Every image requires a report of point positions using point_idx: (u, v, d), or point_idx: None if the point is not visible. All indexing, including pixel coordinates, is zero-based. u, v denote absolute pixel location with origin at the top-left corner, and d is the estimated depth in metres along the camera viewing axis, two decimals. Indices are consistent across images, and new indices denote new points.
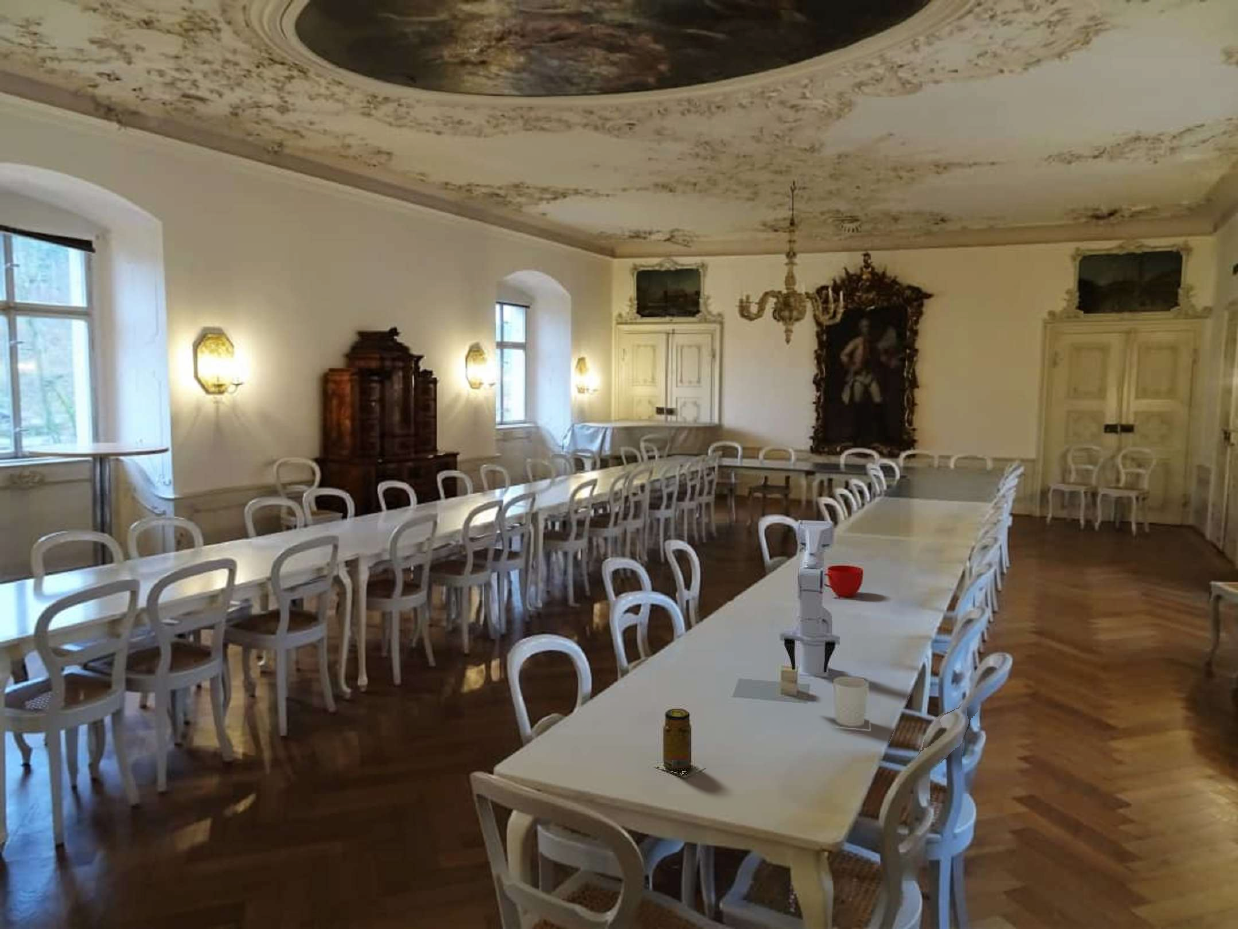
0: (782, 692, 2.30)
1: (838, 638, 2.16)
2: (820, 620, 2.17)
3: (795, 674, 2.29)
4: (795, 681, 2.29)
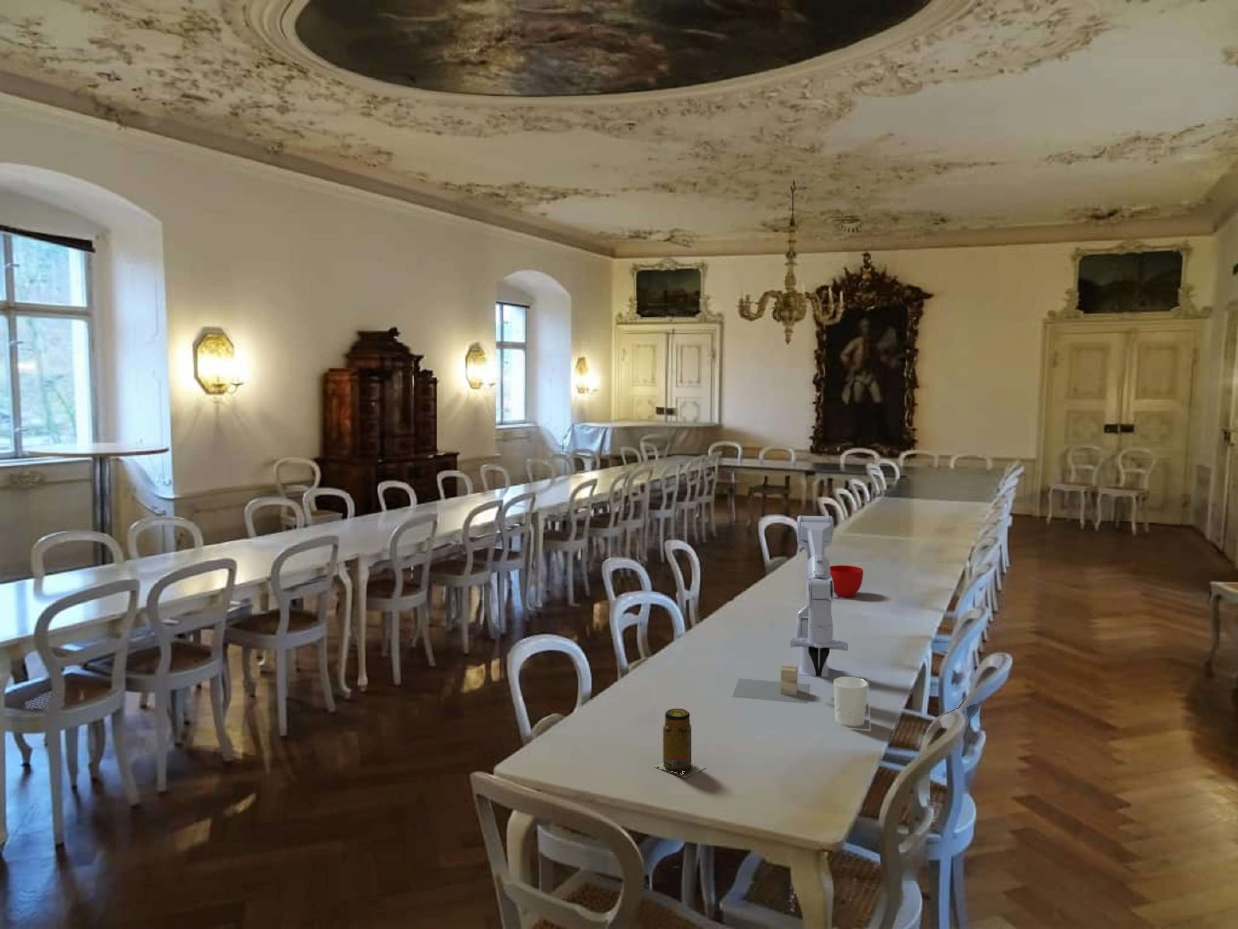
0: (782, 692, 2.30)
1: (846, 645, 2.26)
2: (829, 627, 2.26)
3: (795, 674, 2.29)
4: (795, 681, 2.29)
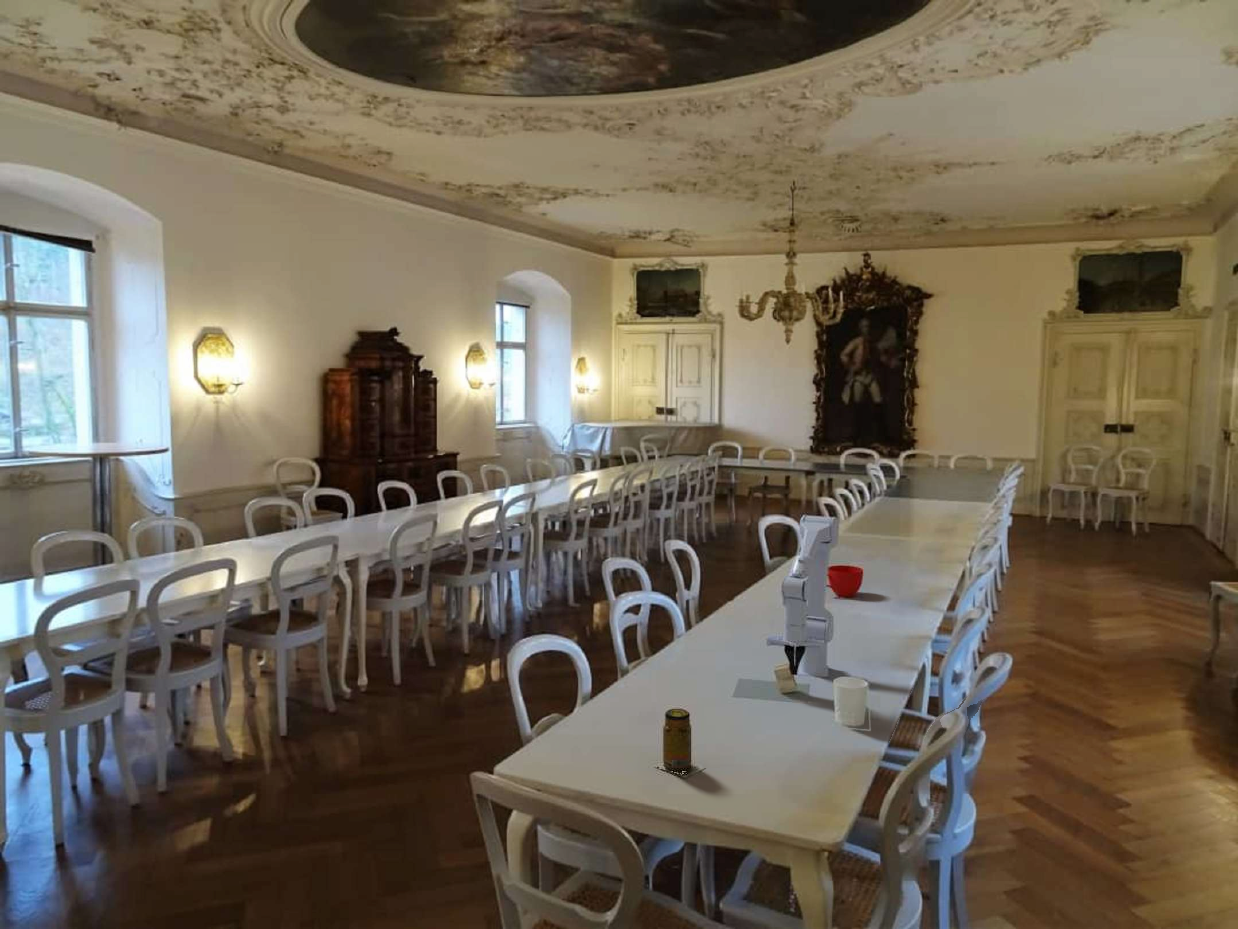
0: (781, 692, 2.30)
1: (822, 643, 2.27)
2: (805, 626, 2.28)
3: (788, 670, 2.29)
4: (790, 677, 2.29)
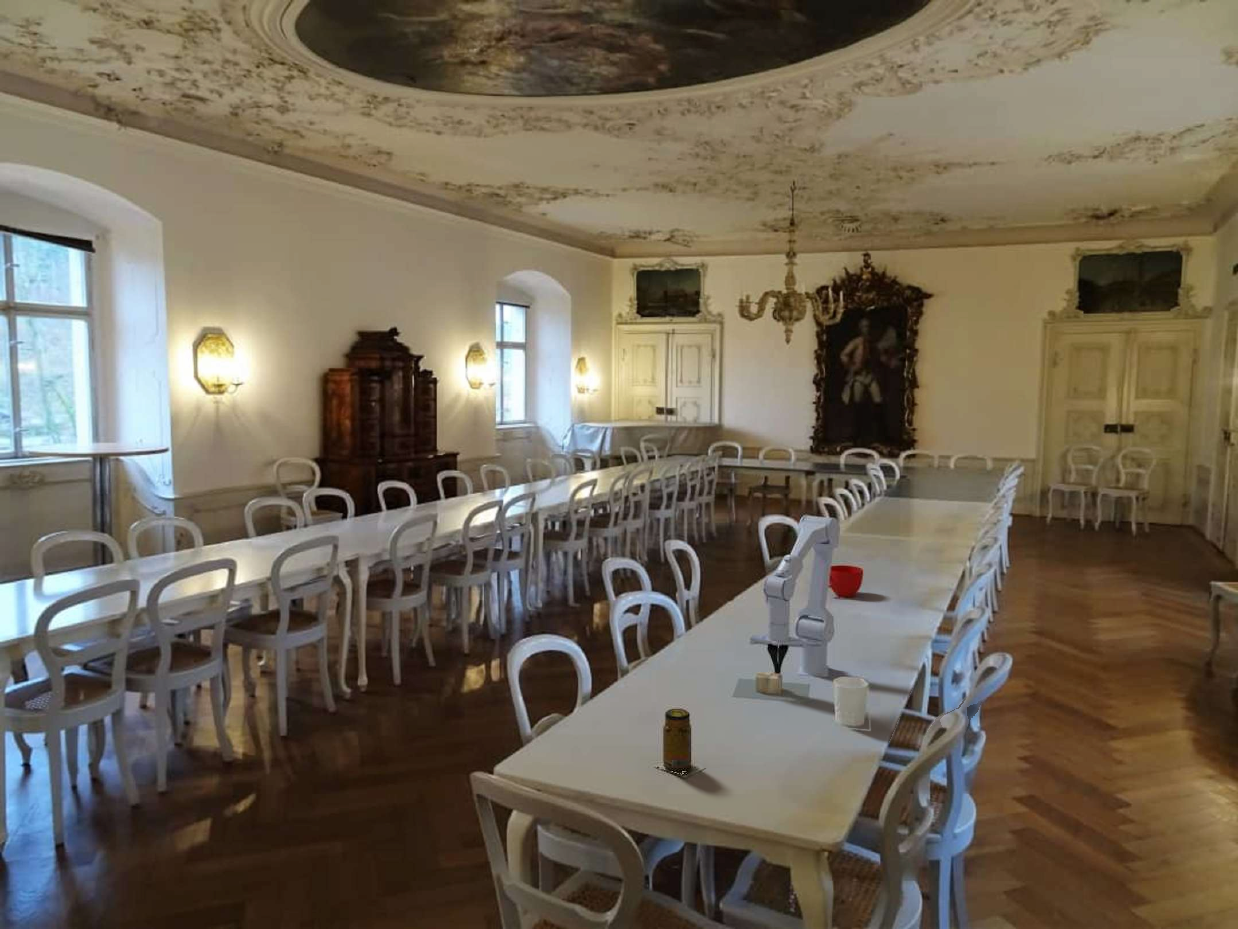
0: (779, 692, 2.30)
1: (804, 642, 2.28)
2: (787, 625, 2.29)
3: (759, 678, 2.31)
4: (766, 678, 2.31)
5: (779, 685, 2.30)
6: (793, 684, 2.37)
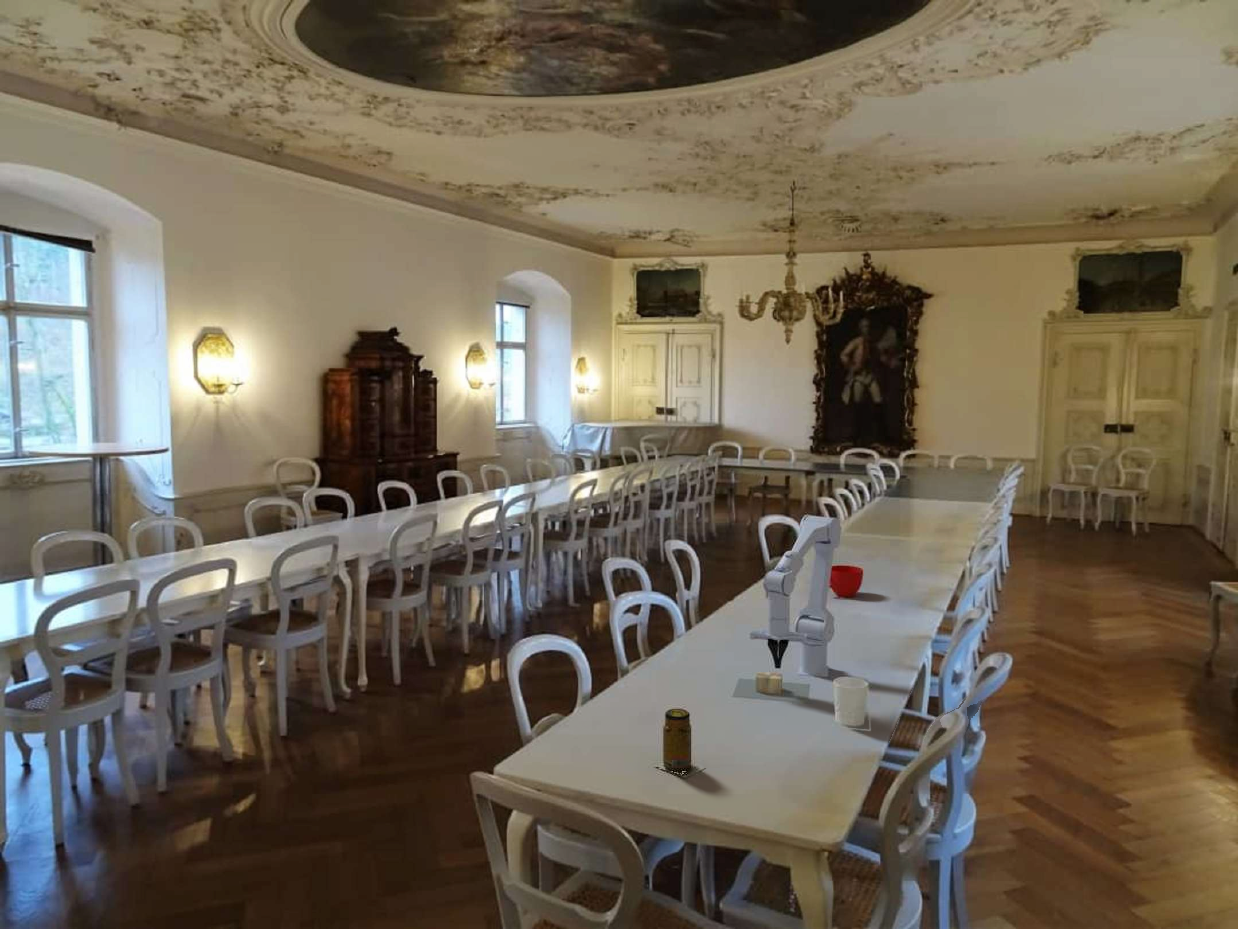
0: (779, 692, 2.30)
1: (805, 637, 2.28)
2: (788, 620, 2.29)
3: (759, 678, 2.31)
4: (766, 678, 2.31)
5: (779, 685, 2.30)
6: (793, 684, 2.37)
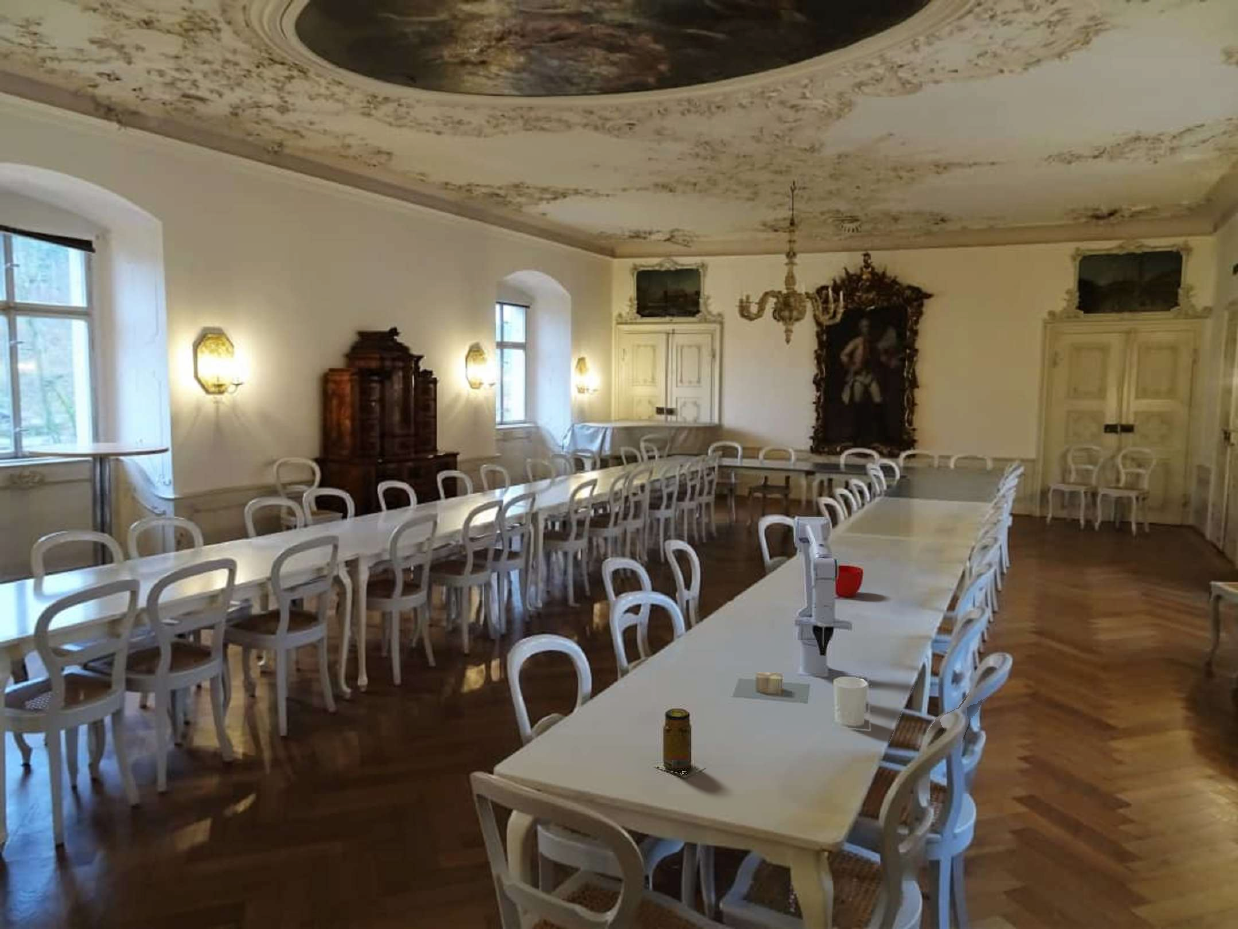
0: (779, 692, 2.30)
1: (850, 624, 2.27)
2: (833, 607, 2.28)
3: (759, 678, 2.31)
4: (766, 678, 2.31)
5: (779, 685, 2.30)
6: (793, 684, 2.37)
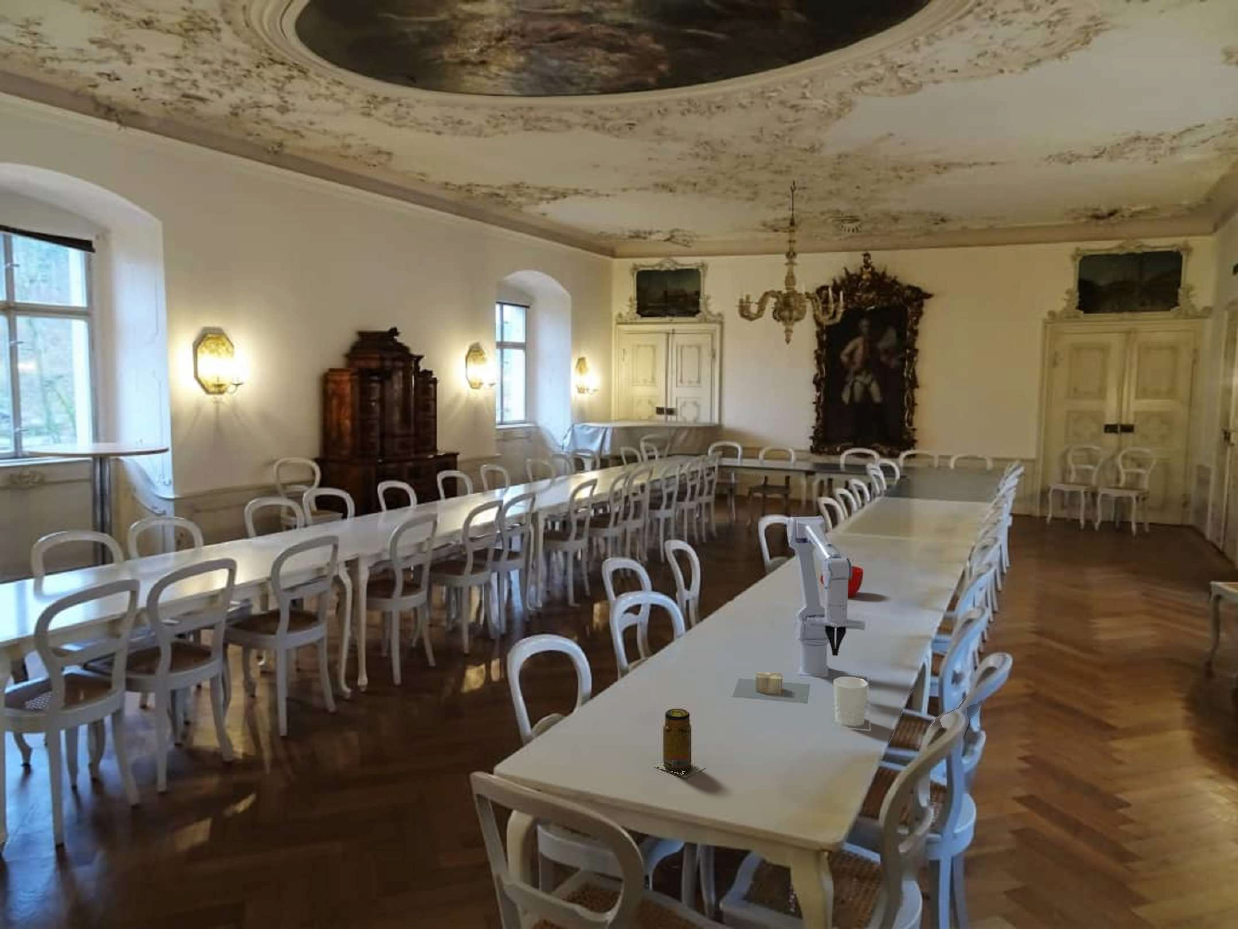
0: (779, 692, 2.30)
1: (863, 624, 2.27)
2: (846, 607, 2.28)
3: (759, 678, 2.31)
4: (766, 678, 2.31)
5: (779, 685, 2.30)
6: (793, 684, 2.37)
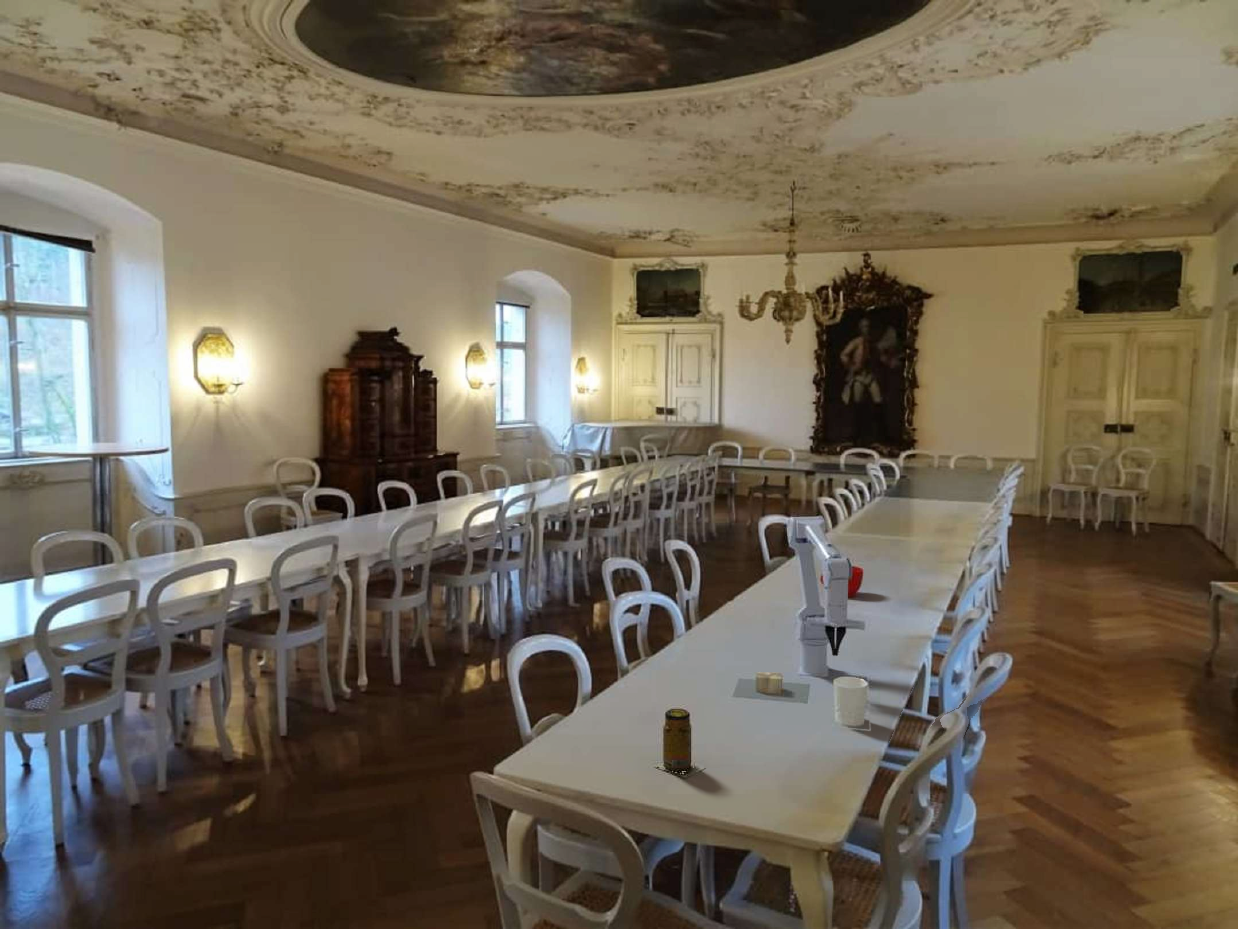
0: (779, 692, 2.30)
1: (863, 624, 2.27)
2: (846, 607, 2.28)
3: (759, 678, 2.31)
4: (766, 678, 2.31)
5: (779, 685, 2.30)
6: (793, 684, 2.37)
